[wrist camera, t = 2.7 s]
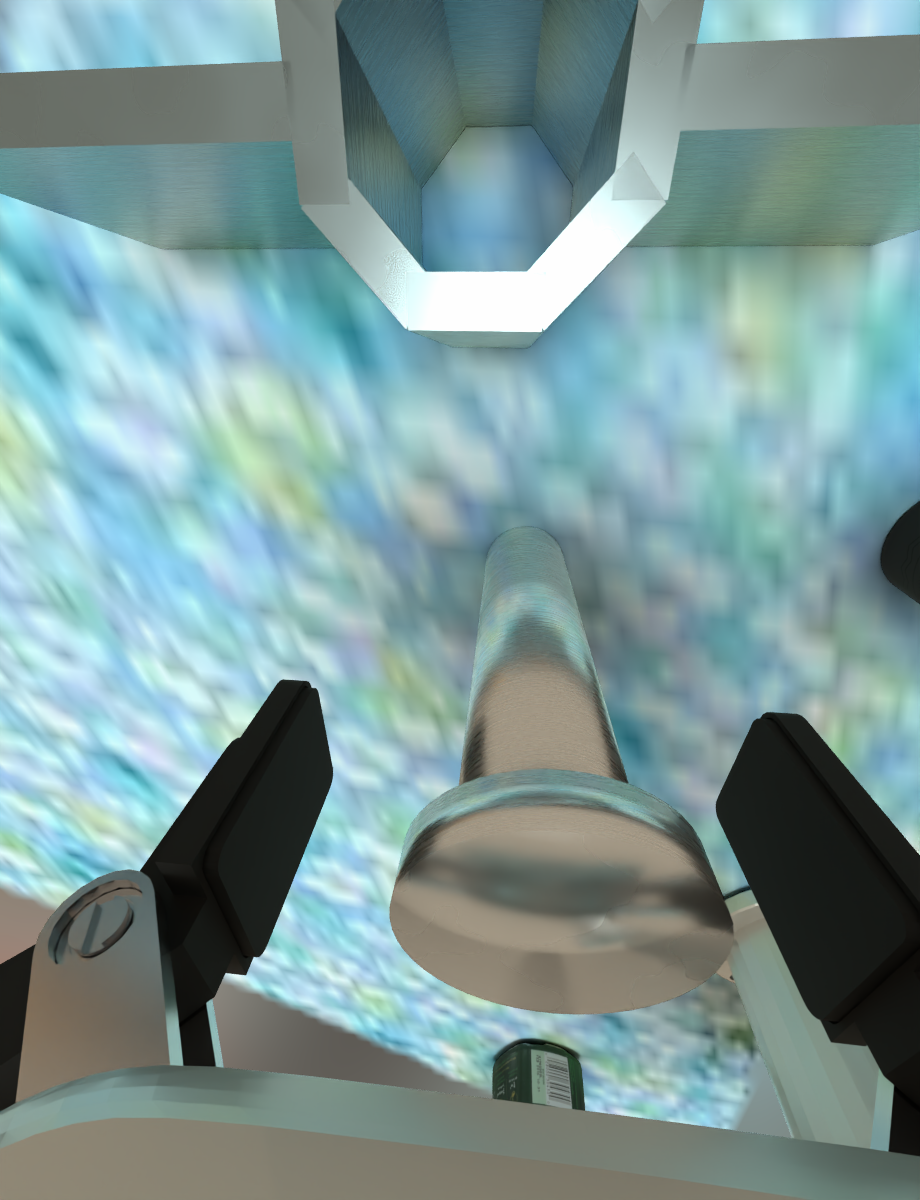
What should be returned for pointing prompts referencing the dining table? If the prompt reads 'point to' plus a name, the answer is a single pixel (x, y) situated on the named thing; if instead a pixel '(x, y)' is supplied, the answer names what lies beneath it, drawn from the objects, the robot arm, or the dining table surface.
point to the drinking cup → (904, 554)
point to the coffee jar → (539, 1077)
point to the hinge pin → (552, 828)
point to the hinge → (481, 98)
